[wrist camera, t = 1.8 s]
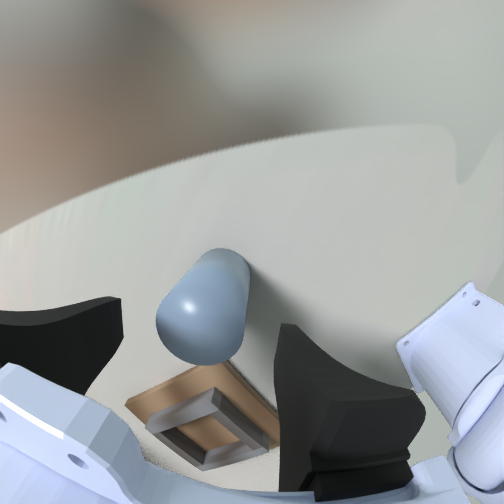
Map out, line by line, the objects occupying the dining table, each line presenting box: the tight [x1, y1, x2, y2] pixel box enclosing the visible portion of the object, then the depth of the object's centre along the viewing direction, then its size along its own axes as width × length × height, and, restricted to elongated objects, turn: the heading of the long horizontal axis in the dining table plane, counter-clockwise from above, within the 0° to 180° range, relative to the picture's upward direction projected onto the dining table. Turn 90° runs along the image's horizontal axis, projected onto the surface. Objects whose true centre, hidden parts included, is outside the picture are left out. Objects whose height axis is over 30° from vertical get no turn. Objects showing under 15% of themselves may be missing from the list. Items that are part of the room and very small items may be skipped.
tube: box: [156, 248, 250, 366], centre depth 16 cm, size 4×4×8 cm
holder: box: [125, 360, 280, 471], centre depth 21 cm, size 12×12×3 cm
